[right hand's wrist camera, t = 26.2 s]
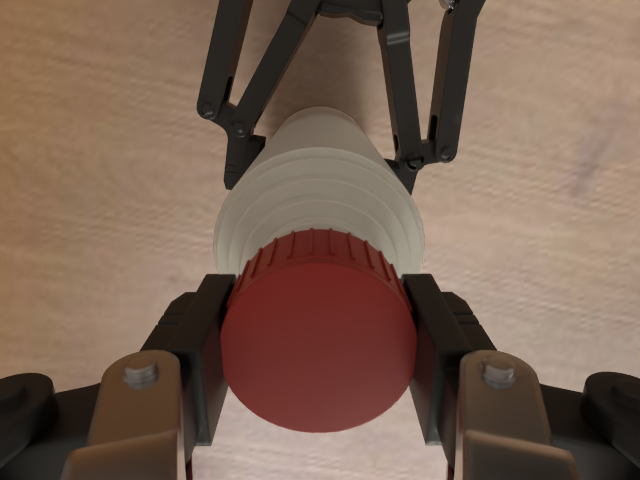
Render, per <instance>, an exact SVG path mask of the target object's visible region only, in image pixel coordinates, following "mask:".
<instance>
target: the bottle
mask: <svg viewBox="0 0 640 480" xmlns="http://www.w3.org/2000/svg"><path fill="white" fill-rule="evenodd" d="M310 228H313V229H327V230H329V228H333V230H335V231H339V232H344V233H348V232H350V233H351V235H353V236H355V237H358V238H359V239H361V240H363V241H365V240H367V241H368V243H369V244H370V245H371V246H373V247H374V248H375V249H377V250H378V251H380V250H381V251H382V252H383V255H384V257H385V258H386V260H387V261H388V262H389V263H390V264H393V265H394V268H395V270H396V273H397V276H398V278H400V279H401V276H402V274H421V270H422V266H423V262H424V254H425V236H424V229H423V224H422V220H421V217H420V214H419V211H418V209H417V207H416V205H415V203H414V201H413V199H412V197H411V196H410V194H409V193H408V191H407V190H406V188H405V187H404V185H403V184H402V183H401V181H400V180H399V179H398V177H397V176H396V175H395V173H394V172H393V171H392V169H391V168H390V167H389V165H388V164H387V163H386V161H385V160H384V159H383V157H382V156H381V155H380V153H379V152H378V151H377V149H376V148H375V147H374V145H373V144H372V143H371V141H370V140H369V139H368V137H367V136H366V135H365V133H364V132H363V131H362V129H361V128H360V127H359V125H358V124H357V123H356V122H355V121H354V120H353V119H352V118H351V117H350V116H348V115H347V114H345V113H344V112H341V111H339V110H337V109H334V108H330V107H322V106H317V107H310V108H306V109H303V110H300V111H298V112H296V113H295V114H293V115H292V116H290V117H289V118H288V119H287V120H286V121H285V122H284V123H283V124H282V125H281V126H280V128H279V129H278V130H277V132H276V133H275V134H274V136H273V137H272V138H271V139H270V141H269V142H268V143H267V145H266V146H265V147H264V149H263V150H262V151H261V152H260V154H259V155H258V156H257V158H256V159H255V160H254V162H253V163H252V164H251V165H250V167H249V168H248V169H247V171H246V172H245V173H244V175H243V176H242V177H241V179H240V180H239V181H238V182H237V184H236V185H235V186H234V188H233V189H232V190H231V192H230V193H229V194H228V196H227V198H226V200H225V202H224V203H223V205H222V208H221V210H220V213H219V215H218V218H217V222H216V226H215V231H214V242H213V246H214V259H215V264H216V269H217V272H218V274H235V275H236V277H237V278H238V275H239V274H240V275H242V272H243V270H244V267H245V265H246V262H247V261H248V260H251V259H252V258H253V257H254V256H255V255H256V254H257V252H258V249H259V248H260V247H261V248H264V247H265V246H266V245H268V244H269V243H271V242H273V240H274V238H276V237H277V239H278V238H280V237H283V236H285V235H287V234H290V233H291V231H295V232H298V231H303V230H310Z"/></svg>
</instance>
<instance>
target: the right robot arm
mask: <svg viewBox="0 0 640 480" xmlns="http://www.w3.org/2000/svg"><path fill="white" fill-rule="evenodd" d="M236 280H237V277H236V275H235V274H207V275H206V276H205V278H204V279H203V281H202V283H201V285H200V286H199V288H198V290H197V292H185V293H184V294H182V295H181V296H179V297H178V298H176V299H175V300H173V301H172V302H171V303H170V305H169V306H168V308H167V310H166V311H165V313H164V315H163V316H162V317H161V319H160V320H159V322H158V325H156V326H155V328H154V330H153V331H152V333H151V334H150V336H149V337H148V339H147V340H146V342H145V343H144V345H143V346H142V348H141V350H140V351H139V352H136V353H133V354H130V355H127V356H125V357H123V358H121V359H119V360H117V361H116V362H114V363H113V364H112V365H111V366H110V367H109V368H108V369H107V370H106V371H105V373H104V374H103V377H102V381H101V383H98V384H95V385H92V386H87V387H83V388H78V389H73V390H68V391H63V392H58V393H55V390H54V386H53V383H52V380H51V379H50V378H49V377H48V376H46V375H43V374H38V373H23V374H17V375H13V376H9V377H5V378H2V379H0V480H194V468H193V461H192V452H193V449H194V446H211V444H212V441H213V437H214V434H215V430H216V427H217V424H218V420H219V417H220V413H221V410H222V406H223V403H224V400H225V396H226V393H227V389H228V386H229V385H228V383H227V382H226V379H225V377H224V373H223V363H222V352H221V341H220V329H221V326H222V323H223V320H224V317H225V315H226V312H227V310H228V308H226V305H227V302H228V300H229V297H230V295H231V292H232V290H233V288H234V285H235V283H236ZM401 281H402V284H403V286H404V289H405V291H406V294H407V296H408V299H409V302H410V304H411V307H412V309H413V312H411V314H412V317H413V320H414V322H415V325H416V329H417V346H416V357H415V368H414V375H413V378H412V380H411V382H410V384H409V387H410V391H411V394H412V398H413V402H414V405H415V409H416V412H417V416H418V419H419V423H420V426H421V430H422V433H423V437H424V440H425V444H426V445H442V447H443V450H444V453H445V456H446V459H447V468H446V480H640V379H639V378H637V377H634V376H631V375H627V374H622V373H617V372H598V373H595V374H592V375H590V376H589V377H588V378H587V379H586V382H585V386H584V390H583V393H581V392H576V391H571V390H566V389H561V388H557V387H552V386H547V385H543V384H540V383H539V381H538V377H537V374H536V373H535V371H534V370H533V369H532V368H531V367H530V366H529V365H528V364H527V363H526V362H524V361H523V360H521V359H519V358H517V357H515V356H513V355H510V354H507V353H504V352H500V351H497V349H496V348H495V346H494V345H493V343H492V342H491V340H490V338H489V337H488V335H487V334H486V332H485V331H484V329H483V327H482V326H481V325H479V321H478V320H477V318H476V317H475V315H473V312H472V310H471V309H470V307H469V306H468V304H467V302H466V301H464V300H463V299H461V298H460V297H459V296H457V295H456V294H454V293H453V292H441V291H440V289H439V287H438V285H437V284H436V282H435V280H434V278H433V276H432V275H431V274H402V276H401Z"/></svg>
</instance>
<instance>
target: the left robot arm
mask: <svg viewBox="0 0 640 480" xmlns="http://www.w3.org/2000/svg"><path fill="white" fill-rule="evenodd" d="M410 1H411V0H292V1H291V3H290V5H289V7H288V9H287V12H286V15H285V17H284V19H283V21H282V22H281V24H280V26H279V28H278V30H277V32H276V34H275V36H274V38H273V39H272V41H271V43H270V45H269V47H268V49H267V51H266V53H265V55H264V56H263V58H262V60H261V62H260V64H259V66H258V68H257V70H256V71H255V73H254V75H253V77H252V79H251V81H250V83H249V85H248V87H247V88H246V90H245V92H244V94H243V96H242V98H241V100H240V102H239V104H238V105H237V106H235V105H233V104H231V103H230V102H229V98H230V94H231V90H232V86H233V82H234V78H235V73H236V69H237V65H238V61H239V57H240V53H241V49H242V45H243V40H244V36H245V32H246V28H247V24H248V20H249V16H250V12H251V7H252V3H253V0H220V1H219V6H218V10H217V15H216V19H215V24H214V28H213V33H212V38H211V42H210V47H209V51H208V56H207V60H206V65H205V70H204V74H203V79H202V83H201V88H200V92H199V97H198V102H197V111H198V114H199V115H200V116H201V117H202V118H204V119H208V120H211V121H212V122H214V123H216V124H218V125H219V126H221V127H222V128H223V129H224V130H225V131H226V133H227V136H228V145H227V154H226V165H225V173H224V183H225V187H226V189H228V190H232V189H233V188H234V186H235V185H236V184H237V182H238V181H239V180H240V179H241V177H242V176H243V175H244V173H245V172H246V171H247V169H248V168H249V167H250V165H251V164H252V163H253V162H254V160H255V159H256V158H257V156H258V155H259V154H260V152H261V151H262V150H263V149H264V147H265V141H266V137H264V136H259V135H253V133H254V128H255V127H256V124H257V122H258V120H259V119H260V117H261V115H262V113H263V111H264V110H265V108H266V106H267V104H268V102H269V100H270V99H271V97H272V95H273V93H274V91H275V90H276V88H277V86H278V84H279V82H280V81H281V79H282V77H283V75H284V73H285V72H286V70H287V68H288V66H289V64H290V63H291V61H292V59H293V57H294V55H295V53H296V52H297V50H298V48H299V46H300V44H301V43H302V41H303V39H304V37H305V35H306V34H307V32H308V30H309V29H310V27H311V26H312V24H313V22H314V20H315V18H316V17H317V15H318V13H320V16H325V17H330V18H342V17H349V18H351V19H353V20H355V21H357V22H359V23H361V24H364V25H369V26H374V27H375V26H376V27H377V34H378V40H379V44H380V48H381V54H382V62H383V69H384V76H385V83H386V91H387V98H388V105H389V112H390V119H391V127H392V134H393V141H394V148H395V154H396V156H395V160H394V161H393V160H390V159H384V158H383V159H384V160H385V161H386V163H387V164H388V165H389V167H390V168H391V169H392V171H393V172H394V173H395V175H396V176H397V177H398V179H399V180H400V181H401V183H402V184H403V185H404V187H405V188H406V190H407V191H408V193H409V194H410V196H411V194H412V190H413V187H414V183H415V179H416V175H417V172H418V171H419V170H421V169H422V168H423V167H424V165H427V164H432V163H438V162H442V163H448V162H450V161H452V160H453V159H454V158H455V156H456V153H457V147H458V141H459V134H460V127H461V121H462V114H463V108H464V101H465V94H466V88H467V81H468V74H469V68H470V61H471V55H472V48H473V41H474V35H475V28H476V21H477V17H478V15H479V13H480V11H481V9H482V7H483V5H484V3H485V1H486V0H439V3H440V5H441V7H442V8H444V9H445V10H446V11H445V14H444V17H443V21H442V25H441V31H440V38H439V46H438V54H437V62H436V70H435V78H434V86H433V94H432V102H431V110H430V118H429V126H428V133H427V139H424V140H421V135H420V126H419V118H418V109H417V101H416V92H415V83H414V75H413V66H412V58H411V49H410V24H409V15H408V7H407V4H408V3H409V2H410Z"/></svg>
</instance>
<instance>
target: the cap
mask: <svg viewBox="0 0 640 480" xmlns="http://www.w3.org/2000/svg"><path fill="white" fill-rule="evenodd" d="M226 308H228V310H227V312H226V315H225V317H224V320H223V323H222V326H221V329H220V341H221V352H222V363H223V373H224V377H225V379H226V382H227V383H228V385H229V387H230V388H231V390H232V392H233V393H234V394H235V395H236V397H237V398H238V399H239V400H240V401H241V402H242V403H243V404H244V405H245V406H246V407H247V408H248V409H249V410H251V411H252V412H253V413H255V414H256V415H257V416H259V417H261V418H263V419H264V420H266V421H268V422H270V423H272V424H275V425H277V426H280V427H283V428H286V429H289V430H294V431H299V432H306V433H331V432H339V431H343V430H348V429H352V428H355V427H358V426H361V425H363V424H365V423H367V422H369V421H372V420H373V419H375V418H377V417H378V416H380V415H381V414H383V413H384V412H385V411H387V410H388V409H389V408H391V407H392V406H393V405H394V404H395V403H396V402H397V401H398V400H399V398H400V397H401V396H402V394H403V393H404V392H405V391H406V389H407V387H408V385H409V384H410V382H411V380H412V378H413V375H414V368H415V357H416V346H417V329H416V325H415V322H414V320H413V317H412V314H411V312H413V309H412V307H411V304H410V302H409V299H408V296H407V294H406V291H405V289H404V286H403V284H402V281H401V279H400V278H398V276H397V273H396V270H395V268H394V265H393V264H390V263H389V262H388V261H387V260H386V258H385V257H384V255H383V252H382V251H381V250H380V251H378V250H377V249H375V248H374V247H373V246H371V245H370V244H369V243H368V241H367V240H365V241H363V240H361V239H359V238H358V237H355V236H353V235H351V233H350V232H348V233H344V232H339V231H335V230H333V228H329V230H327V229H313V228H310V230H303V231H298V232H295V231H291V233H290V234H287V235H285V236H283V237H280V238H278V239H277V237H276V238H274V240H273V242H271V243H269V244H268V245H266V246H265V247H264V248H261V247H260V248H259V249H258V252H257V254H256V255H255V256H254V257H253V258H252V259H251V260H248V261H247V262H246V265H245V267H244V270H243V272H242V275H240V274H239V275H238V278H237V280H236V283H235V285H234V288H233V290H232V292H231V295H230V297H229V300H228V302H227V305H226Z"/></svg>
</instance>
